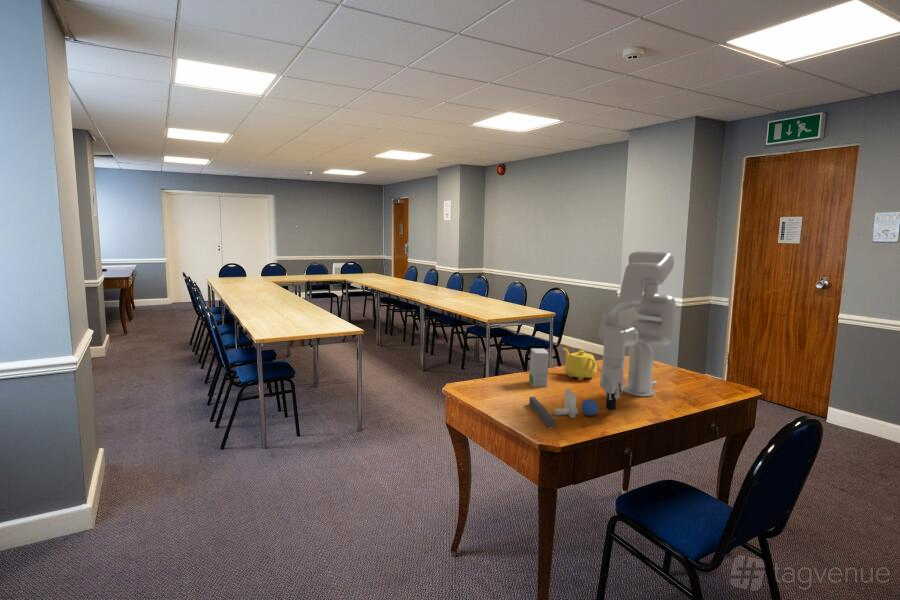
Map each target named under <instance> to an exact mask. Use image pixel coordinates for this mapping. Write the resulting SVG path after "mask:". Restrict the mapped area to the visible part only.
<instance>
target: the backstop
mask: <svg viewBox="0 0 900 600" xmlns="http://www.w3.org/2000/svg"><path fill="white" fill-rule="evenodd" d="M528 401H529V402H528V403H529V404H528V405H529V406H530V407H531V408H532V409H533V411H534V412H535V413H536V414H537V416H538V417H539V418H540V419H541V420H542V421H543V423H544V422H545V423H544V424H545V425H546V426H547V427H555V426H556V425H555V424H556V420H555V418H554V416H552V415H551V414H550V412H549V411H548V410H547V409H546V408H545V406H543V405H542V403H541V402H540V400H538V399H537V397H536V396H529V400H528ZM555 428H556V427H555Z"/></svg>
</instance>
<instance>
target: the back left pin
mask: <svg viewBox="0 0 900 600" xmlns="http://www.w3.org/2000/svg"><path fill="white" fill-rule="evenodd" d="M576 408H577V394H576V393H572V392H571V394H570V400H569V415H568V417H569V418H570V417H571V419H576V417H577V416H576Z"/></svg>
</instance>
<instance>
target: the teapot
mask: <svg viewBox="0 0 900 600" xmlns="http://www.w3.org/2000/svg"><path fill="white" fill-rule="evenodd" d="M562 350H564V352H565V353H564V354H565V364H564V372H565V374H566V375H568V376H569V377H568V376H567V377H568V378H577V381H580V380H583V381H584V379H585V378H586V379H589V378H592V379H593V376H595V375H596V374H597V371H598V367H597V362H596V359H595V356H594V355H593V354H592V353H588V352H585V350H583V349H582V350H578V352H576V351H575V352H572V353H570V352H569V349H568V348H565V347H563V348H562Z"/></svg>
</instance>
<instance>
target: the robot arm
mask: <svg viewBox="0 0 900 600" xmlns="http://www.w3.org/2000/svg"><path fill="white" fill-rule="evenodd" d="M674 264H675V258H674V256H673V254H672V253H670V252H664V251H662V252H661V251H635V252H632V253H630V254H629V255H628V264H627V265H626V267H625V270H624V273H623V277H622V278H623V279H622V282H621V287H620V292H619V296H618V298H617V299H616V300H615V301H614V302H612V303H611V304H610V305H609V306H608V307H607V308H606V310H605V311H604V312H603V315H602V317H601V323H600V326H599V331H598V332H599V333H598V336H599V339H600V341H601V342H603V351H602V352H603V353H602V354H603V356H602V366H601V371H600V372H601V373H600V381H599V386H600V388H601V389H602V390H604V391H605V398H606V401H605V408H606V410H608V411H616V409H617V400H618V399H620V398H621V394H623V392H624V393H625V394H629V395H632V396H636V397H652V396H654V395H655V394H656V390H654V389H653V387H654V386H657V385H658V382H657V381H656V380H653V379H652V377H653V368H654V367H653V365H654V364H653V363H654V362H653V361H654V351H653V348H652V347H651V345H650V344H656V345H663V346H664V345H666V346H667V345H670V344H671V343H672V341H673V339H674V332H675V324H676V323H675V322H676V314H677V313H676V309H677V303H676V300H675V298H674V297H673V296H671V295H668V294H659V293H658V290H659V286H660V285H662V284H664V283H665V281H666V280H667V278H668V277H669V275H670V274H671V272H672V271H673V268H674V266H675V265H674ZM632 308H634V312H635V313H636V315H639V316H644V317H651V318H659V319H660V320H656V319H655V320H654V319H646V318H636V319H633V320H631V321H630V322H629V324H628V325H622V324H612V321H613V319H614V318H615V317H616V315H618V314H619V313H621V312H623V311H625V310H629V309H632ZM627 347H629V353H628V365H627V366H628V370H627V371H628V372H627V383H626V384H627V385H625V386H624V367H625V357H626V355H625V352H626V348H627ZM652 380H653V381H652Z"/></svg>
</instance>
